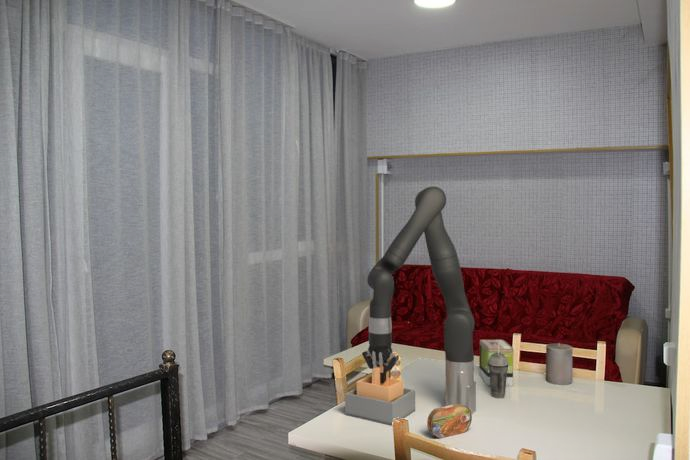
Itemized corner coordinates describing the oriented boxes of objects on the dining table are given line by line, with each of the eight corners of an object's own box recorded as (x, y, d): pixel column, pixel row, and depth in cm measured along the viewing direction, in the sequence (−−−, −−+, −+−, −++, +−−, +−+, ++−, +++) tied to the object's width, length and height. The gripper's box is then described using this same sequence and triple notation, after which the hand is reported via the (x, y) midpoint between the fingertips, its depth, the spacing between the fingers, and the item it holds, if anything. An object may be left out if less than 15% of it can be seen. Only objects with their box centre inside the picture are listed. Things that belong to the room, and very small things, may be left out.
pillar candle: (543, 377, 226) (543, 339, 225) (569, 377, 224) (569, 340, 224) (548, 384, 216) (548, 345, 215) (575, 385, 215) (575, 346, 214)
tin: (431, 440, 165) (431, 412, 164) (425, 436, 167) (425, 408, 167) (472, 431, 172) (472, 403, 171) (465, 427, 174) (465, 400, 174)
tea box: (514, 386, 214) (514, 347, 214) (487, 386, 214) (487, 347, 214) (503, 374, 229) (503, 338, 229) (478, 375, 229) (478, 338, 229)
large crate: (415, 410, 189) (415, 390, 189) (392, 425, 176) (392, 403, 176) (370, 401, 199) (369, 381, 198) (345, 414, 186) (345, 393, 185)
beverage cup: (486, 398, 201) (486, 342, 200) (489, 392, 208) (489, 337, 207) (507, 400, 198) (507, 343, 198) (509, 394, 205) (509, 339, 204)
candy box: (402, 401, 199) (402, 357, 198) (390, 401, 198) (390, 358, 198) (396, 393, 207) (396, 351, 207) (385, 393, 207) (384, 351, 206)
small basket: (403, 395, 188) (403, 366, 188) (388, 403, 180) (388, 372, 180) (372, 389, 195) (372, 360, 195) (356, 396, 186) (357, 366, 186)
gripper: (404, 330, 186) (403, 383, 186) (368, 326, 193) (368, 376, 194) (392, 335, 180) (392, 389, 180) (356, 330, 187) (356, 382, 188)
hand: (380, 382), depth 187 cm, fingers closed on small basket, 1 cm apart
